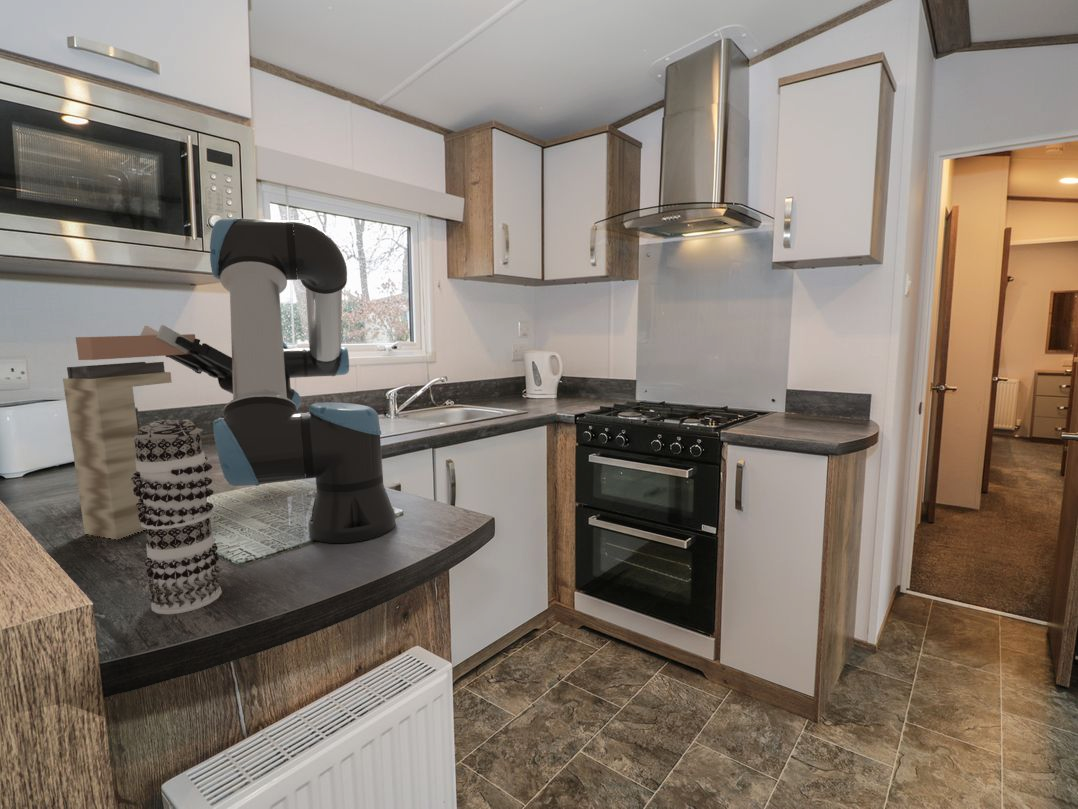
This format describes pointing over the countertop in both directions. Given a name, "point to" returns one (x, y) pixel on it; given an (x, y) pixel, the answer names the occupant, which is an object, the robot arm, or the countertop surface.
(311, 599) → the countertop surface
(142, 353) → the reddish brown bar
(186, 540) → the decorative candle
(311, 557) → the countertop surface
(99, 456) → the shelf stand
